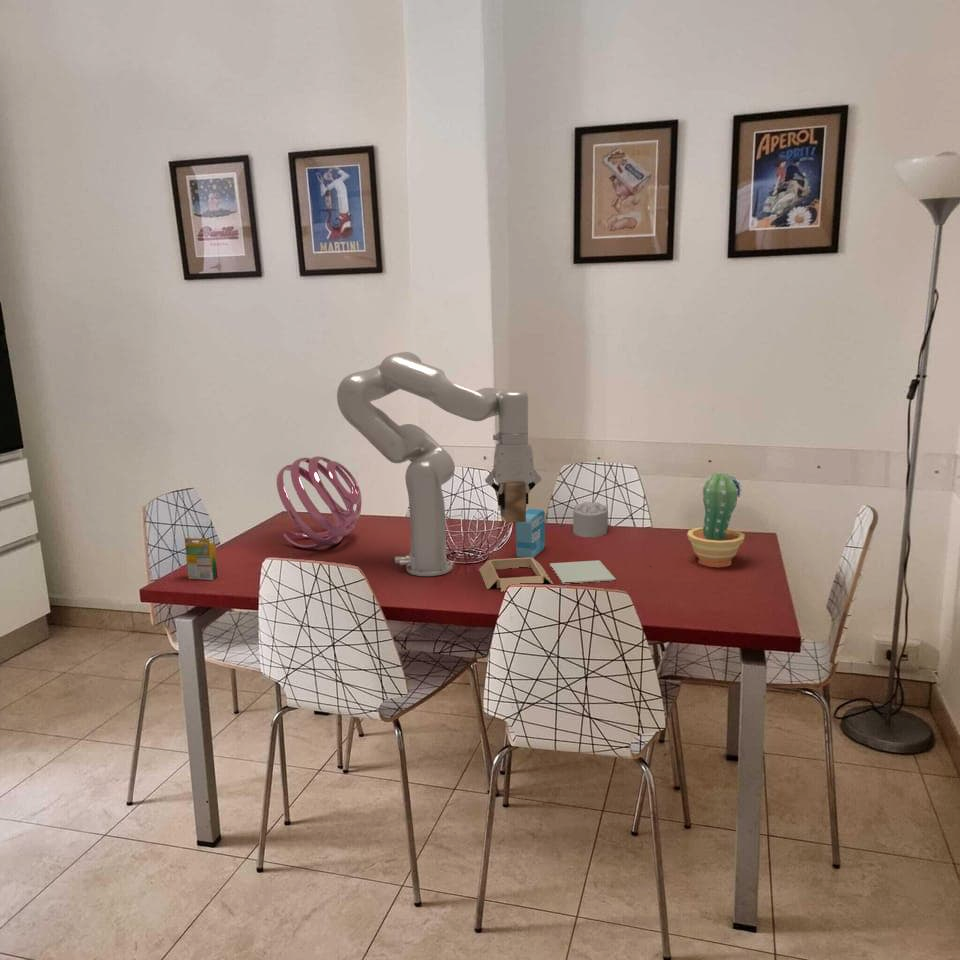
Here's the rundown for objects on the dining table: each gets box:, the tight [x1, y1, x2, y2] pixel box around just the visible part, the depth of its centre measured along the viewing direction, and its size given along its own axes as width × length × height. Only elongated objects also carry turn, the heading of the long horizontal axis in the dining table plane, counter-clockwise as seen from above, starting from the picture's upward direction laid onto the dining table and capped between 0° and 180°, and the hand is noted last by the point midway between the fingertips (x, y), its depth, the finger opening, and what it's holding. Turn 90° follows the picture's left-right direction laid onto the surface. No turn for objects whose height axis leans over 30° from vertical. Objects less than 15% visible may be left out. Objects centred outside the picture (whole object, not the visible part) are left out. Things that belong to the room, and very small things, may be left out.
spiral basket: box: [276, 455, 363, 550], centre depth 266 cm, size 28×28×27 cm
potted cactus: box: [686, 471, 745, 568], centre depth 240 cm, size 15×15×25 cm
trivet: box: [549, 560, 616, 585], centre depth 236 cm, size 14×16×1 cm
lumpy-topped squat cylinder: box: [572, 501, 608, 538], centre depth 274 cm, size 10×13×9 cm
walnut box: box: [500, 482, 527, 524], centre depth 229 cm, size 5×9×10 cm, turn 8°
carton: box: [478, 557, 554, 593], centre depth 234 cm, size 17×21×3 cm
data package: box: [515, 508, 546, 559], centre depth 253 cm, size 12×4×12 cm, turn 157°
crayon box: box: [184, 537, 219, 581], centre depth 238 cm, size 7×3×12 cm, turn 80°
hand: (513, 506), depth 230 cm, fingers closed on walnut box, 5 cm apart
